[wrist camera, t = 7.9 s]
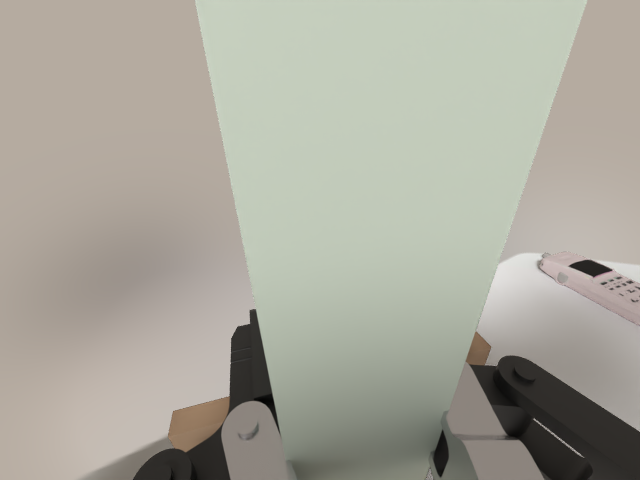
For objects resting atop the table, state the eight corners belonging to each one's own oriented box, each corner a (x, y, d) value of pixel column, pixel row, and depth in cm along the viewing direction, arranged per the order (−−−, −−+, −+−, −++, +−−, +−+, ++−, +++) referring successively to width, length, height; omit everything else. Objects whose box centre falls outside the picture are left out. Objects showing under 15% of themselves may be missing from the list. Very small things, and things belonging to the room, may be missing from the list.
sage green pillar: (314, 605, 13) (172, -116, 2) (293, 456, 18) (220, 31, 7) (394, 571, 13) (612, -75, 3) (351, 438, 19) (369, 30, 8)
